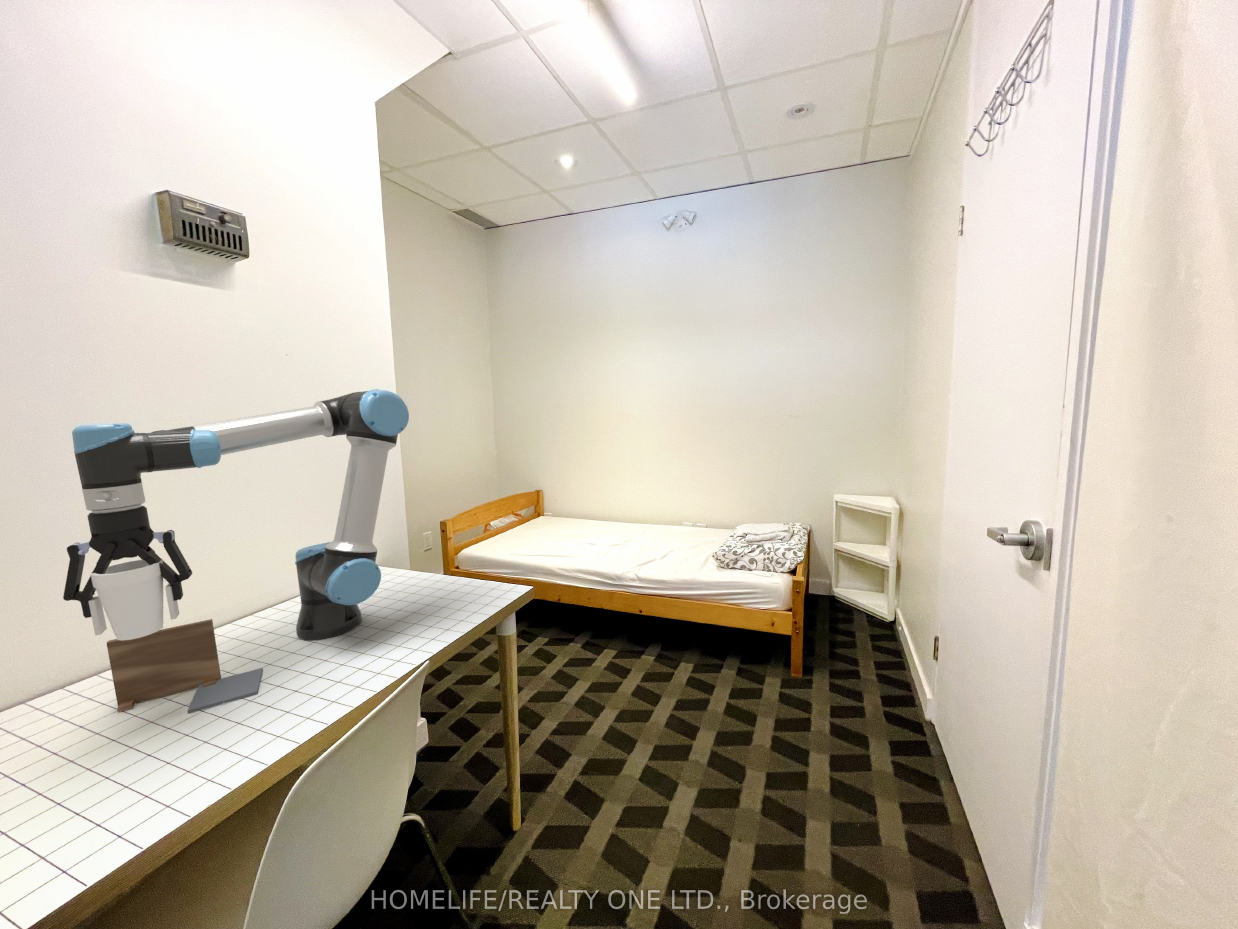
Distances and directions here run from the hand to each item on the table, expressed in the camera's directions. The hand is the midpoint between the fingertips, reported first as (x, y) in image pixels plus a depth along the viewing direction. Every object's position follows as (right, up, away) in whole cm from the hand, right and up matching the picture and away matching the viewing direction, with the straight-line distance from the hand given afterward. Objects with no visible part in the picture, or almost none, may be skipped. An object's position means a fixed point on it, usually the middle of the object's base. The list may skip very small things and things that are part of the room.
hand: (139, 624), depth 89 cm
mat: (+8, -18, +11) cm, 22 cm away
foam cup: (0, -2, 0) cm, 2 cm away
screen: (-4, -18, +11) cm, 21 cm away
